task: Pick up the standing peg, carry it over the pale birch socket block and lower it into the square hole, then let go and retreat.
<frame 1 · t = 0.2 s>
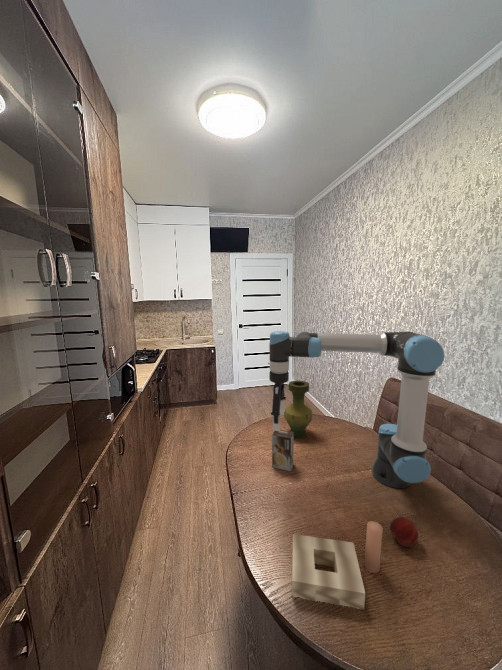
hand: (278, 422, 107), 28 cm above the table, fingers open, 13 cm apart
vase: (297, 434, 153), on the table
apple: (402, 542, 86), on the table
socket block: (324, 575, 76), on the table
peg: (371, 566, 78), on the table
coffee box: (282, 465, 125), on the table
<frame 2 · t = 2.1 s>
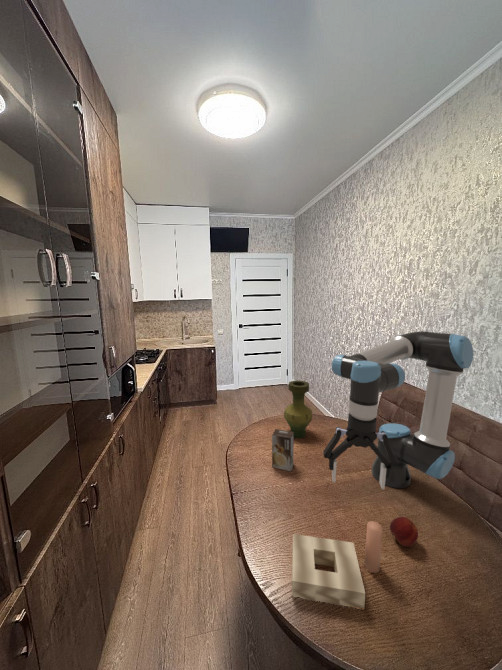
hand: (357, 482, 80), 23 cm above the table, fingers open, 13 cm apart
nothing on the table moved.
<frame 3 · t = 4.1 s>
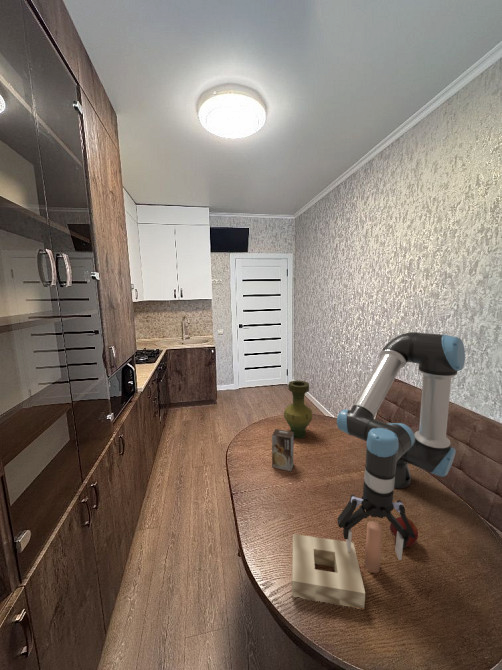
hand: (372, 551, 77), 5 cm above the table, fingers open, 13 cm apart
nothing on the table moved.
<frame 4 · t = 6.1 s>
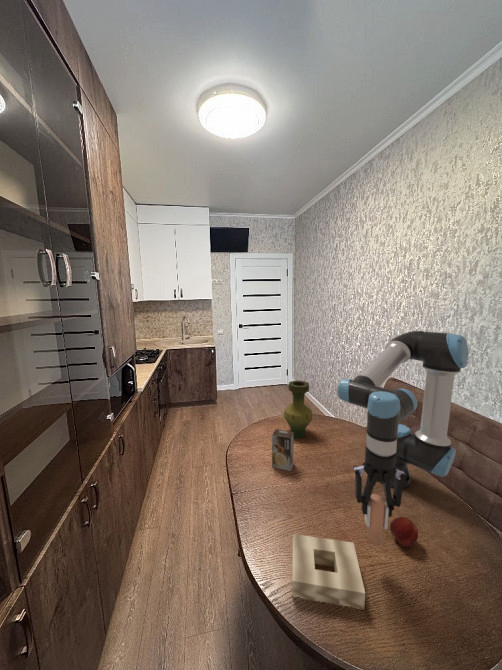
hand: (375, 523, 76), 14 cm above the table, fingers closed on peg, 4 cm apart
peg: (374, 539, 77), point 9 cm above the table, touching gripper
everything else where it was.
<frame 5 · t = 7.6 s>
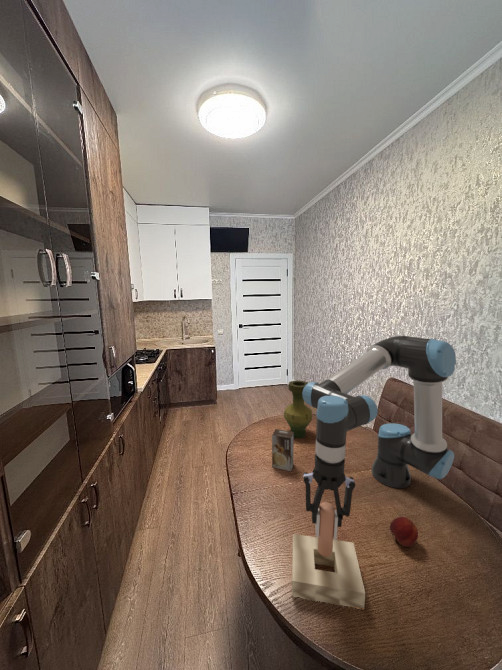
hand: (325, 533, 73), 14 cm above the table, fingers closed on peg, 4 cm apart
peg: (324, 549, 74), point 9 cm above the table, touching gripper
everything else where it was.
when the fingers open (6 cm above the table, at t = 9.6 s): peg drops 1 cm, resting in socket block.
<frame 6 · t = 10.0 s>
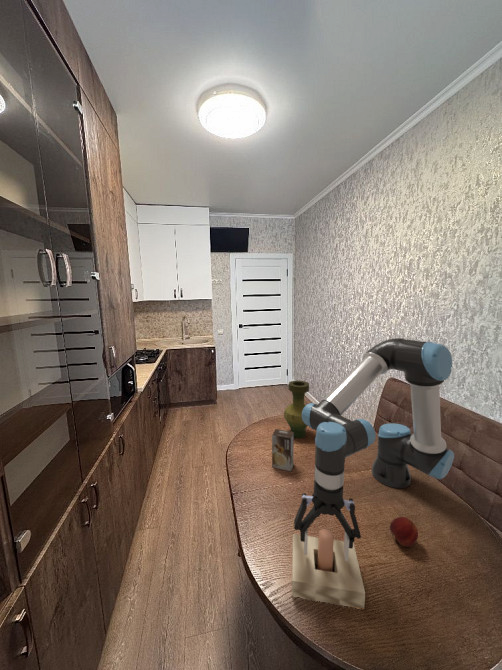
hand: (325, 553, 75), 7 cm above the table, fingers open, 10 cm apart
peg: (324, 575, 76), resting in socket block
everything else where it was.
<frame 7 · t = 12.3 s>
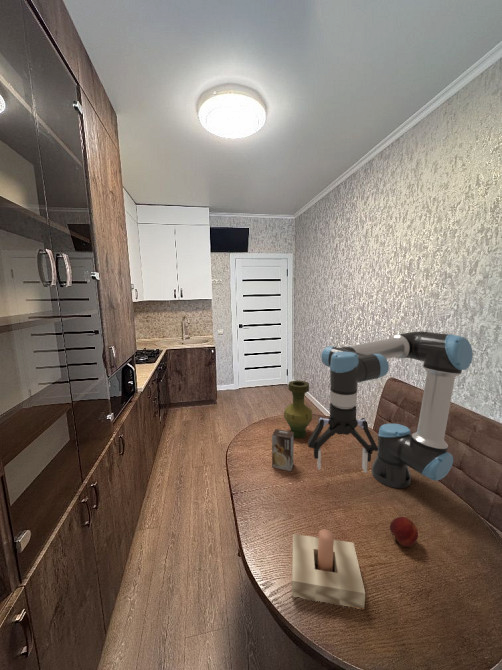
hand: (341, 468, 83), 25 cm above the table, fingers open, 13 cm apart
nothing on the table moved.
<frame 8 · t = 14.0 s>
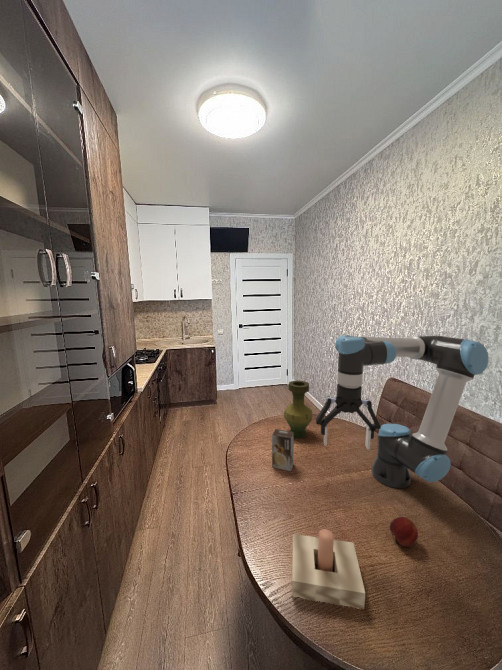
hand: (346, 445, 90), 29 cm above the table, fingers open, 13 cm apart
nothing on the table moved.
at the end: peg 0.0 cm off-centre on the socket block, point 0.0 cm above the socket block's base; peg tilted 0°; the gripper is holding nothing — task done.
